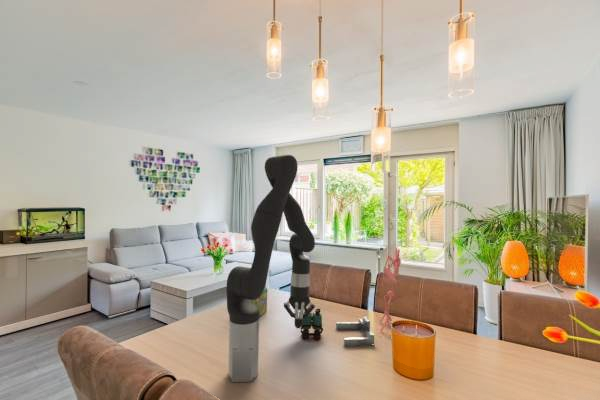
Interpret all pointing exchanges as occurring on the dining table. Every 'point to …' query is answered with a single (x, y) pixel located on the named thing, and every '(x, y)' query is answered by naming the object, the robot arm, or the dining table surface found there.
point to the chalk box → (261, 302)
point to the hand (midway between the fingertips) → (298, 327)
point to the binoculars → (313, 321)
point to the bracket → (363, 326)
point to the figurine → (387, 272)
